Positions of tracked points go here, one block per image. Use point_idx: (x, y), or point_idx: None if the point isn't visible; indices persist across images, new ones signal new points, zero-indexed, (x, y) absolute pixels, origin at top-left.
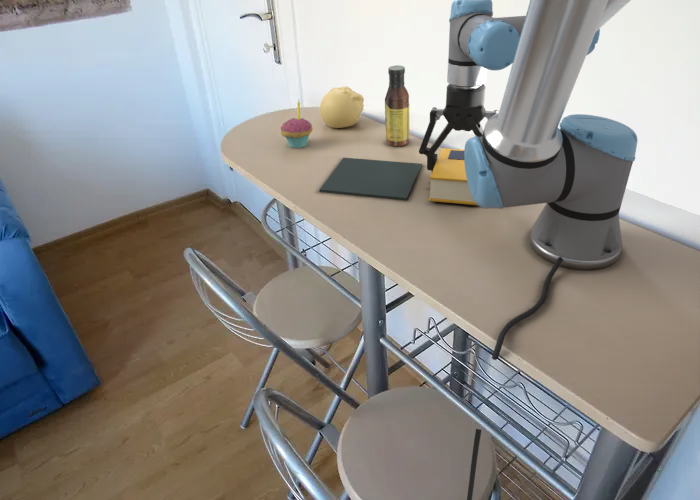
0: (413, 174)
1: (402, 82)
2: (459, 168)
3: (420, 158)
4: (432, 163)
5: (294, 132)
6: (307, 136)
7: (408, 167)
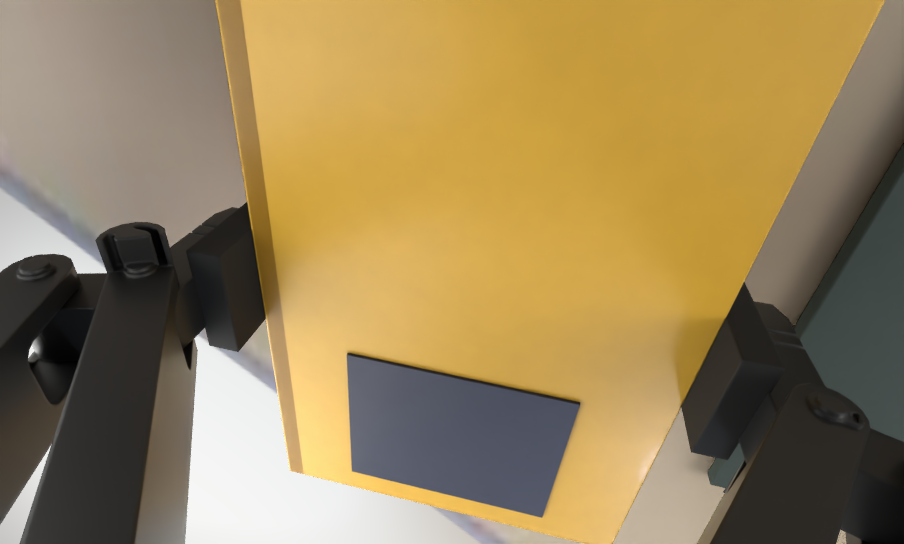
0: None
1: None
2: (478, 212)
3: (698, 535)
4: (759, 327)
5: None
6: None
7: None
